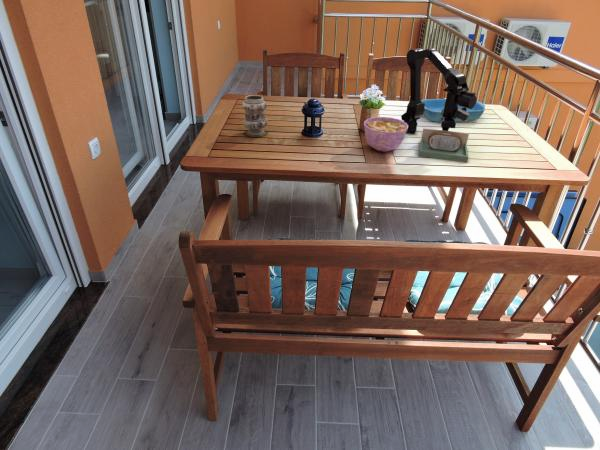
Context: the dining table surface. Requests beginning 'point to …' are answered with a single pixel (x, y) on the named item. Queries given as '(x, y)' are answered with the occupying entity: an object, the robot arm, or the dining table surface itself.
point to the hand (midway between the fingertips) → (444, 135)
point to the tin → (445, 141)
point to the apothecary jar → (254, 115)
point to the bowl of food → (384, 132)
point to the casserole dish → (436, 106)
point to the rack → (432, 153)
